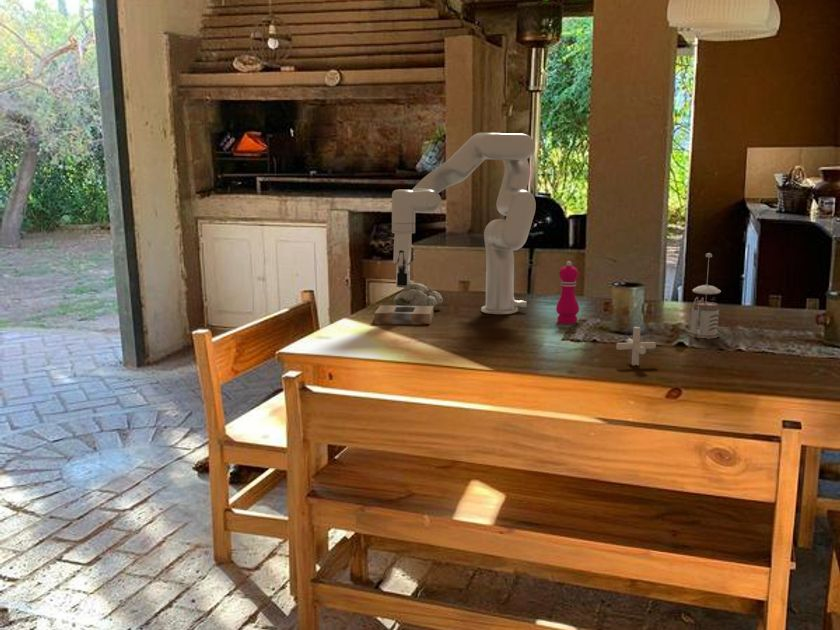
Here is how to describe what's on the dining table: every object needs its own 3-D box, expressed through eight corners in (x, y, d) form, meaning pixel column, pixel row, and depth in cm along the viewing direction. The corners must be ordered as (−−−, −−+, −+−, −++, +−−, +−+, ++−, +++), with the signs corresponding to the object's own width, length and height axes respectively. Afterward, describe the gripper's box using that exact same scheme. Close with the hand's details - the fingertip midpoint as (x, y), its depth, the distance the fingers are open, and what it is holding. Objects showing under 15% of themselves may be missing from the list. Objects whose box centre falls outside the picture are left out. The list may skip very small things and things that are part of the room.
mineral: (438, 307, 282) (442, 279, 285) (389, 302, 286) (393, 275, 288) (443, 317, 294) (447, 291, 296) (396, 313, 297) (400, 287, 300)
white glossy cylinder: (410, 285, 273) (410, 264, 272) (408, 287, 269) (409, 266, 267) (397, 285, 273) (397, 264, 272) (395, 287, 269) (395, 266, 268)
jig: (433, 316, 279) (433, 306, 278) (430, 324, 266) (430, 313, 266) (380, 315, 281) (380, 305, 280) (374, 323, 268) (374, 313, 267)
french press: (726, 335, 250) (732, 252, 245) (709, 341, 242) (715, 256, 237) (695, 330, 257) (700, 249, 252) (678, 336, 248) (683, 253, 243)
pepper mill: (553, 323, 267) (555, 262, 263) (558, 319, 273) (560, 259, 269) (575, 325, 264) (578, 263, 260) (580, 320, 271) (582, 260, 267)
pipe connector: (610, 360, 222) (612, 323, 220) (646, 359, 223) (648, 322, 221) (622, 370, 212) (624, 332, 210) (660, 369, 213) (662, 331, 211)
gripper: (395, 225, 276) (395, 279, 280) (388, 230, 259) (388, 288, 263) (417, 226, 275) (417, 280, 279) (412, 231, 259) (411, 288, 262)
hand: (403, 283), depth 271 cm, fingers closed on white glossy cylinder, 4 cm apart
